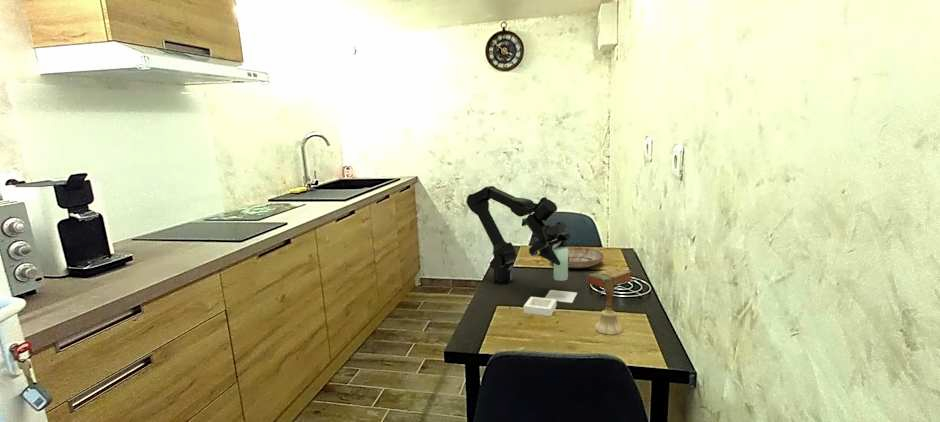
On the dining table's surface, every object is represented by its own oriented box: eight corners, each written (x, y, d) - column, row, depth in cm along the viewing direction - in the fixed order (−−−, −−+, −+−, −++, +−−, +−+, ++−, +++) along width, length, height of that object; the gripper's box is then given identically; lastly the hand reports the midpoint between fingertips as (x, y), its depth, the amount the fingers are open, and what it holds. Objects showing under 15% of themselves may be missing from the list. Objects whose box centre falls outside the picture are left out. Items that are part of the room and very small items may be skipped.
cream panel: (543, 301, 167) (543, 299, 167) (550, 291, 176) (550, 289, 176) (572, 304, 164) (572, 302, 163) (577, 294, 173) (577, 292, 172)
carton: (631, 281, 186) (631, 270, 185) (603, 290, 177) (604, 279, 177) (614, 275, 193) (614, 265, 192) (587, 284, 184) (587, 273, 183)
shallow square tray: (523, 314, 157) (523, 306, 156) (530, 304, 165) (530, 296, 164) (550, 317, 153) (550, 309, 153) (556, 307, 161) (556, 299, 161)
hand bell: (603, 321, 150) (604, 273, 147) (627, 328, 144) (629, 278, 141) (589, 329, 144) (589, 279, 141) (613, 337, 138) (615, 285, 135)
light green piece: (555, 280, 166) (555, 250, 164) (552, 276, 171) (552, 247, 169) (569, 280, 166) (569, 250, 164) (565, 275, 171) (566, 246, 169)
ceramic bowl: (610, 260, 213) (610, 249, 212) (593, 275, 194) (594, 263, 193) (561, 254, 226) (561, 244, 225) (541, 267, 206) (541, 256, 205)
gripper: (535, 219, 161) (562, 256, 155) (566, 211, 173) (592, 244, 168) (518, 238, 168) (542, 274, 162) (549, 228, 181) (573, 261, 175)
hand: (563, 263), depth 166 cm, fingers closed on light green piece, 5 cm apart
